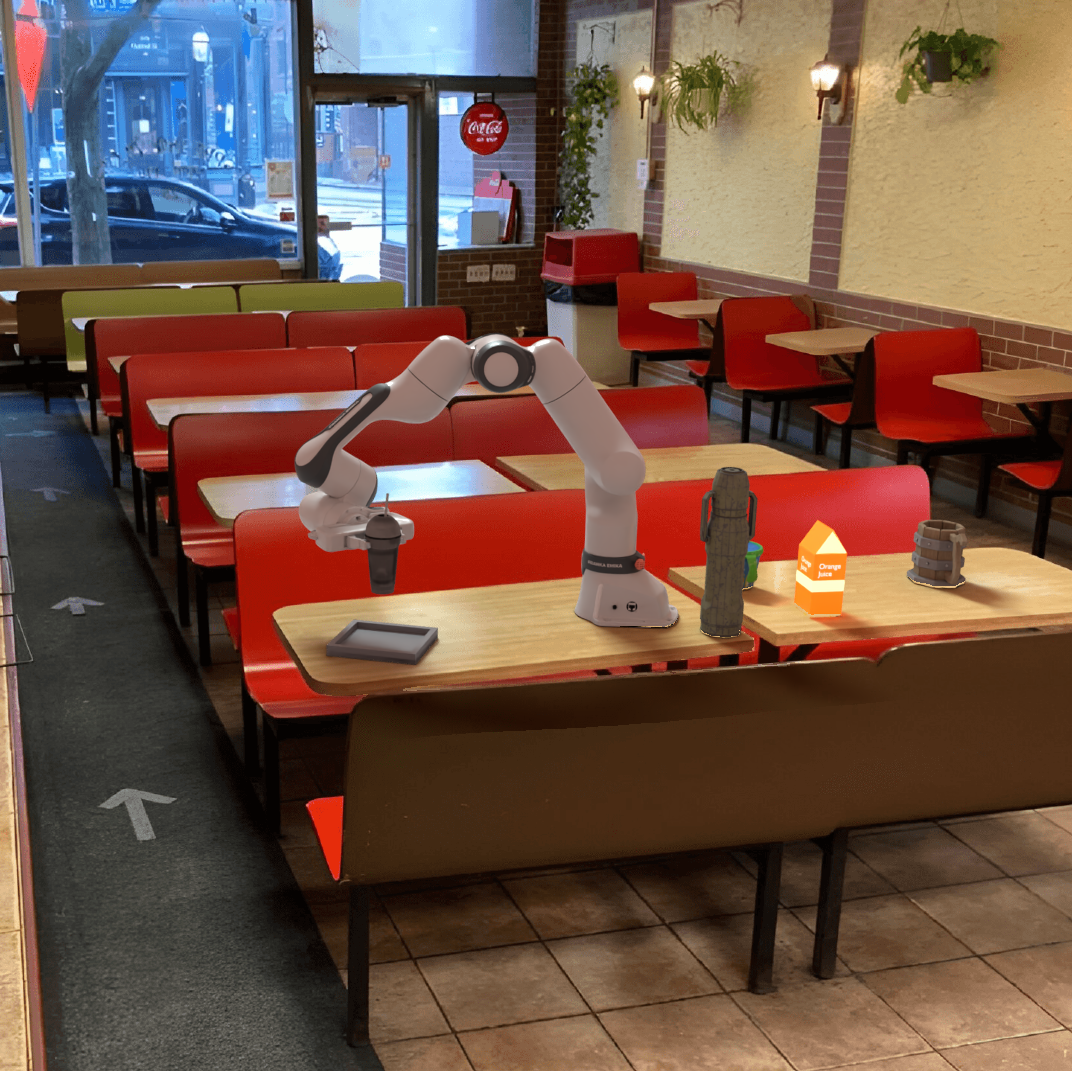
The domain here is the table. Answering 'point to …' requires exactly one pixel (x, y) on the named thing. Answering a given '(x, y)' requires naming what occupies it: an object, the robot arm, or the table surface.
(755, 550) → the snack cup
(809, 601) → the orange juice
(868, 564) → the table surface
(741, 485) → the thermos
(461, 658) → the table surface
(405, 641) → the tray
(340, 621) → the table surface
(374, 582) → the beverage cup
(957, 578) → the tankard
